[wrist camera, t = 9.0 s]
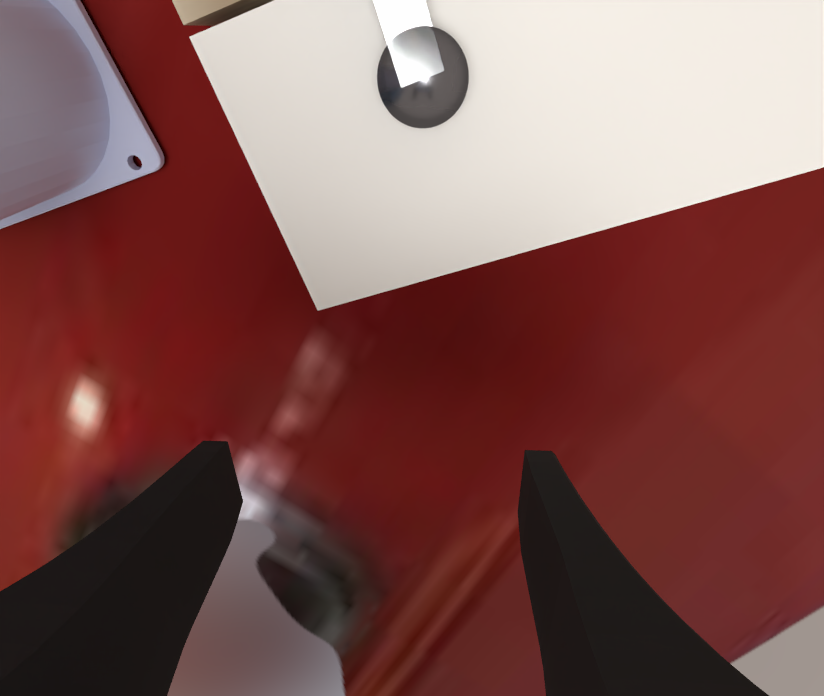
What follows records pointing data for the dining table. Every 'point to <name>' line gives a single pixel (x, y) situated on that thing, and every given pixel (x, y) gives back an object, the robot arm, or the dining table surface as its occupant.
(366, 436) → the dining table surface
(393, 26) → the bar
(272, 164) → the frame slab
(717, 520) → the dining table surface
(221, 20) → the slab
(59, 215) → the dining table surface
